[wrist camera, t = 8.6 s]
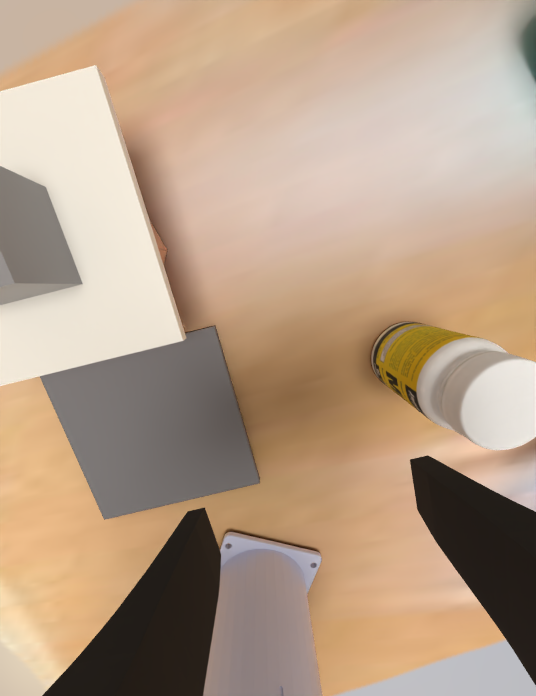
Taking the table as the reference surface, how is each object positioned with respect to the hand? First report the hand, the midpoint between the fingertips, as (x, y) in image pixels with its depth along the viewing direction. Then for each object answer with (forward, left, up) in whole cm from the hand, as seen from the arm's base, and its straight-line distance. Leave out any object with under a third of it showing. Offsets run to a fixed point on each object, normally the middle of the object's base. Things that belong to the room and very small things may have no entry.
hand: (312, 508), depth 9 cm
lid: (+5, +14, -5) cm, 16 cm away
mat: (-5, +8, -10) cm, 14 cm away
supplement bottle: (+5, -7, -11) cm, 14 cm away
